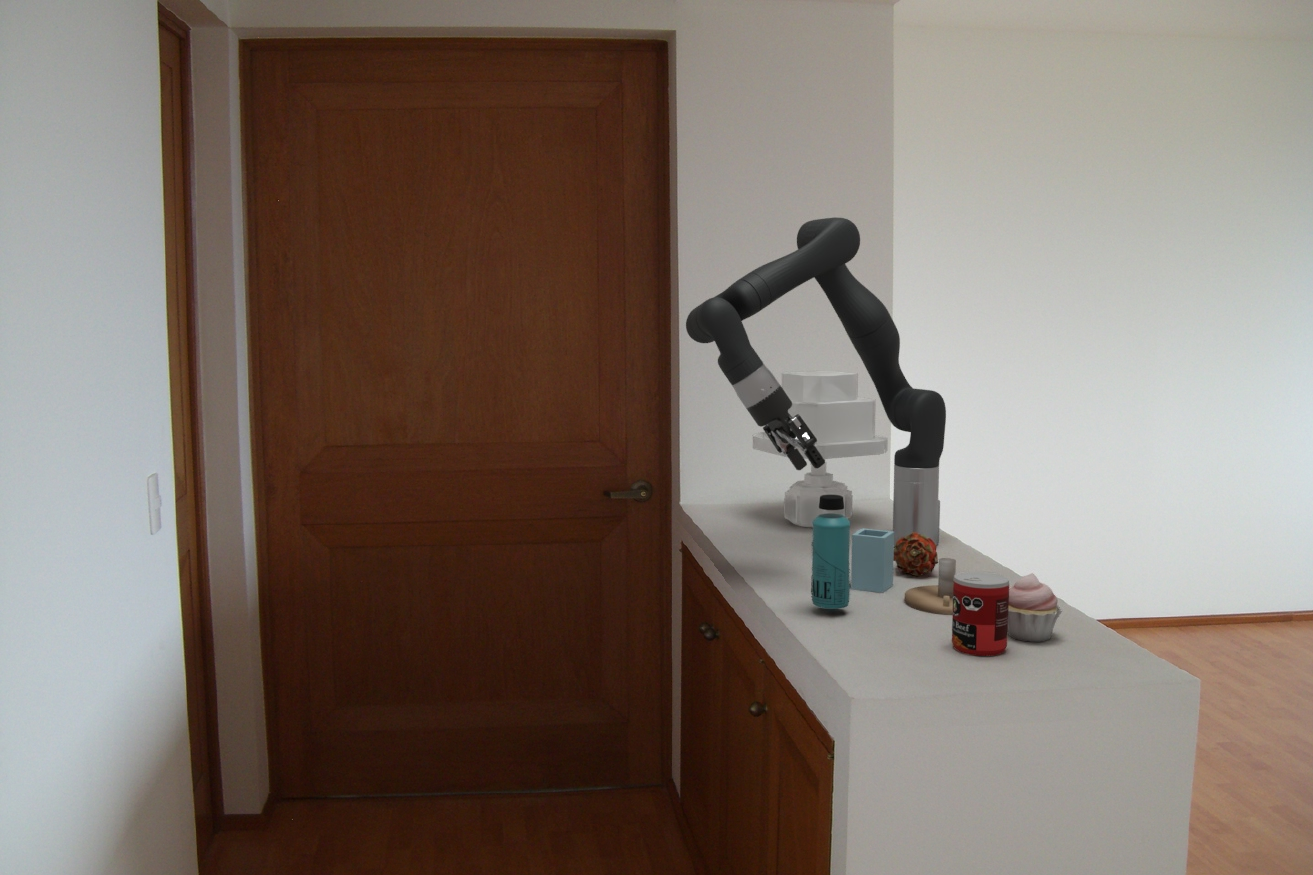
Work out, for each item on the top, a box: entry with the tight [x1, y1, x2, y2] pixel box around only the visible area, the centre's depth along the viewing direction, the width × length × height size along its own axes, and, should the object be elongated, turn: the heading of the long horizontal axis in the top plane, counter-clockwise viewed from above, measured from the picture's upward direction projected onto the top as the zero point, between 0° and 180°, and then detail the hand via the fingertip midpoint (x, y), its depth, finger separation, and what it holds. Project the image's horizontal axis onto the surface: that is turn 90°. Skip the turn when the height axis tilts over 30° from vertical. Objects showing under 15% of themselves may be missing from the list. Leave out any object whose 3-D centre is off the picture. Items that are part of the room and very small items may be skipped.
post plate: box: [904, 557, 957, 616], centre depth 184 cm, size 14×14×8 cm
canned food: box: [951, 570, 1010, 657], centre depth 160 cm, size 8×8×11 cm
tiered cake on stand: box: [752, 370, 889, 528], centre depth 249 cm, size 27×27×35 cm
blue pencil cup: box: [850, 528, 895, 594], centre depth 195 cm, size 6×6×10 cm
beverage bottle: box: [810, 495, 851, 610], centre depth 179 cm, size 6×7×20 cm
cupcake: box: [1007, 572, 1063, 643], centre depth 166 cm, size 9×9×10 cm
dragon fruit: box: [893, 532, 939, 577], centre depth 205 cm, size 8×8×12 cm
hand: (811, 466), depth 197 cm, fingers open, 8 cm apart
